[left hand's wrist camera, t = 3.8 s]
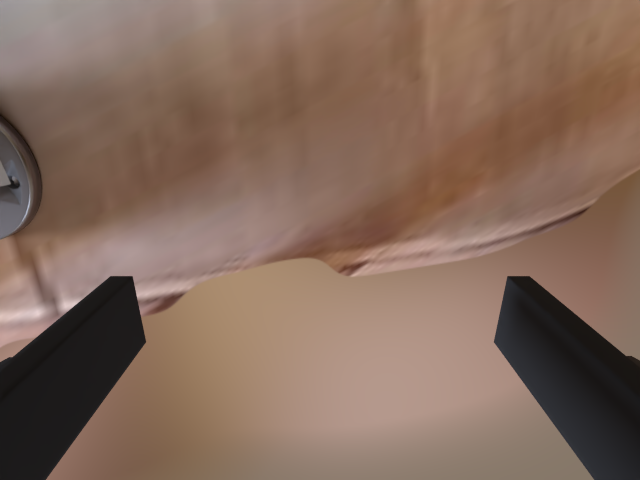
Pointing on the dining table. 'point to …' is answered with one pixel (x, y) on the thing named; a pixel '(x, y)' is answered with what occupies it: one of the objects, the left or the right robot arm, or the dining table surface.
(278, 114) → the dining table surface
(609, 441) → the left robot arm
